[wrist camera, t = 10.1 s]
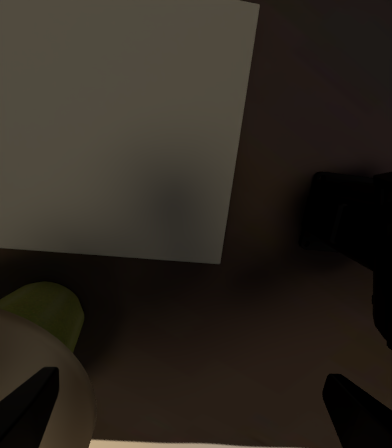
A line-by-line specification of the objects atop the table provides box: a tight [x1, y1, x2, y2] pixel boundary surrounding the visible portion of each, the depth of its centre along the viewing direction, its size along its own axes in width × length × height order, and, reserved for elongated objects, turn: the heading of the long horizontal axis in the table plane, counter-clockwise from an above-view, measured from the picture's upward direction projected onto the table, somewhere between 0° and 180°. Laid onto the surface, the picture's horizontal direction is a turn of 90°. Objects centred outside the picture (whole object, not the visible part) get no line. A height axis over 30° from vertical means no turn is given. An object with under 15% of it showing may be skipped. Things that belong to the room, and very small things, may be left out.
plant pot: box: [0, 281, 84, 353], centre depth 17 cm, size 9×9×9 cm
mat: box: [0, 0, 260, 264], centre depth 18 cm, size 18×18×1 cm
